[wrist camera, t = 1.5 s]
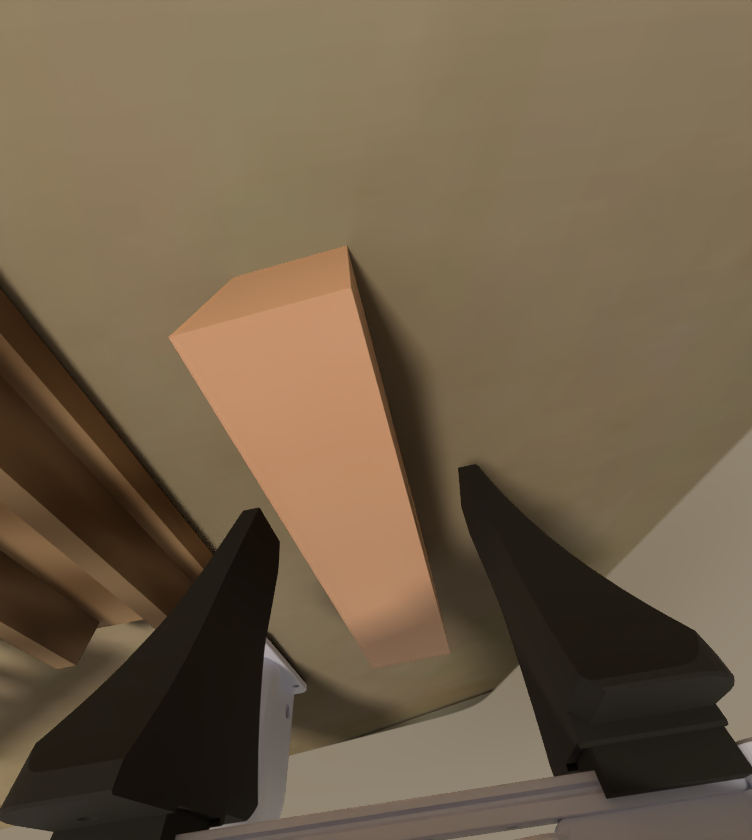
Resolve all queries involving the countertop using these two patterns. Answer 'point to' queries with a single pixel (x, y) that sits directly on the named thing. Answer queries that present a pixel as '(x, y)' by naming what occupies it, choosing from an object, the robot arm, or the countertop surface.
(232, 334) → the peach rectangular block
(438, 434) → the countertop surface
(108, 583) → the strip rack
